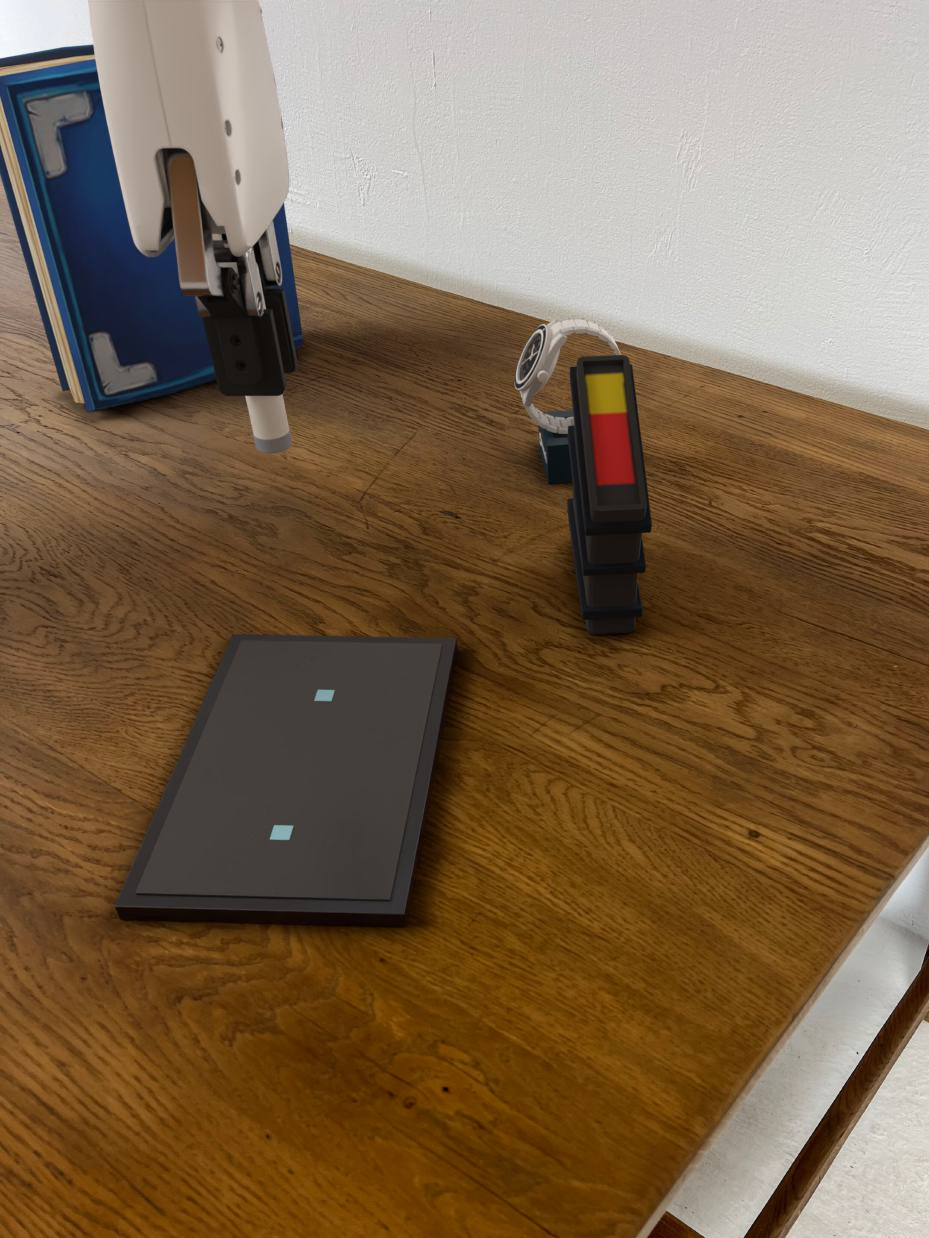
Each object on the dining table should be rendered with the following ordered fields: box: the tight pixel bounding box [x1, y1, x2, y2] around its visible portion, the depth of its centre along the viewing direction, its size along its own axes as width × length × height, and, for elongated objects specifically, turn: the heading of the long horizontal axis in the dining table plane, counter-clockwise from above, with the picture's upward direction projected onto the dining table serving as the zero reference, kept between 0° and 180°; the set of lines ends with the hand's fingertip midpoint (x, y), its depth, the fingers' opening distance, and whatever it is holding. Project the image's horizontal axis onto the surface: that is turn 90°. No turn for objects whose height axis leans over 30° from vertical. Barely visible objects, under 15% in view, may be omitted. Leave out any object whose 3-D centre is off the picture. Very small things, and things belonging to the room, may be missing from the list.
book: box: [0, 43, 305, 414], centre depth 93 cm, size 22×7×25 cm, turn 130°
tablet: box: [114, 633, 459, 928], centre depth 63 cm, size 14×22×1 cm, turn 178°
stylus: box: [219, 263, 293, 454], centre depth 56 cm, size 2×2×9 cm
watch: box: [513, 316, 622, 485], centre depth 85 cm, size 6×8×11 cm
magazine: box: [566, 354, 653, 636], centre depth 72 cm, size 4×13×15 cm, turn 5°
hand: (259, 379), depth 57 cm, fingers closed on stylus, 1 cm apart
